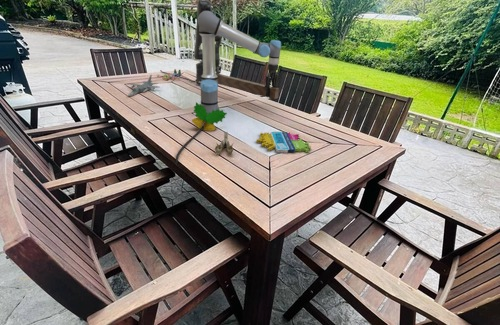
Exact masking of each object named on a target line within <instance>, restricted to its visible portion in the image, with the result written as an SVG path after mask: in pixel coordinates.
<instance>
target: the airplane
mask: <svg viewBox="0 0 500 325" xmlns="http://www.w3.org/2000/svg"><path fill="white" fill-rule="evenodd" d="M152 76H153V74H150V76H149V77H148V79H147V81H142V83H143V84H137V83H130V82H129V83H127V85H131V87H130V89H132V90H131V91H130V92H129V93H128V95H127V97H132V96H135V95H137V94H139V93H142V92H143V93H145V92H147V91H149V90H150V89H151V91H153V90H155V89H156V88H159V86H156V85H159V82H153V81H152V80H153V79H152Z"/></svg>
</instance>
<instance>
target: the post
mask: <svg viewBox="0 0 500 325" xmlns="http://www.w3.org/2000/svg"><path fill="white" fill-rule="evenodd" d="M215 74H216V75H217V76H218V85H221V86H225V87H227V88H232V89H236V90H240V91H243V92H246V93H250V94H253V95H258V96H260V97H261V96H262V97H264V98H269V99H272V100H276V99H279V94H280V88H279V87H272V85H270V95H269V97H266V88H265V84H263V83H258V82H254V81H250V80H247V79H242V78H238V77H234V76H229V75H227V74H222V73H219V74H218V73H216V72H215Z"/></svg>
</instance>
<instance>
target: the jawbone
mask: <svg viewBox="0 0 500 325" xmlns="http://www.w3.org/2000/svg"><path fill="white" fill-rule="evenodd" d="M223 135H224V136H223V140H222V139H221V142H220V144H218V142H215V144H216V146H215V148H214V149H215V152H214V154H215V155H217V156H218V155H220V153H221V152H223V151H224V150H226V152H227V153H228V155H229V156H233V155H234V154H233V153H234V148H233V144H234V143H230V140H228V139H229V138H228V137H229V136H228V135H229V133H228V131H226V132H224V134H223Z"/></svg>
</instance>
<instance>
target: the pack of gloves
mask: <svg viewBox="0 0 500 325" xmlns="http://www.w3.org/2000/svg"><path fill="white" fill-rule="evenodd" d="M299 136H300V135H299V134H298V133H296V134H294V133H291V132H287V131H270V132H264V133H263V132H260V133H259V139H258V138H257V139H256V143H257V144H261V148H263V147H264V148H265V149H267V151H268V152H271V151H272V150H273V149H275V152H276V153H283V154H285V153H287V154H288V153H290V154H293V153H296V152H298V153H301V152H305V153H310V151H311V150H312V149H311V148H312V146H309V142H304V141H303V139H302V138H299Z"/></svg>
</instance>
